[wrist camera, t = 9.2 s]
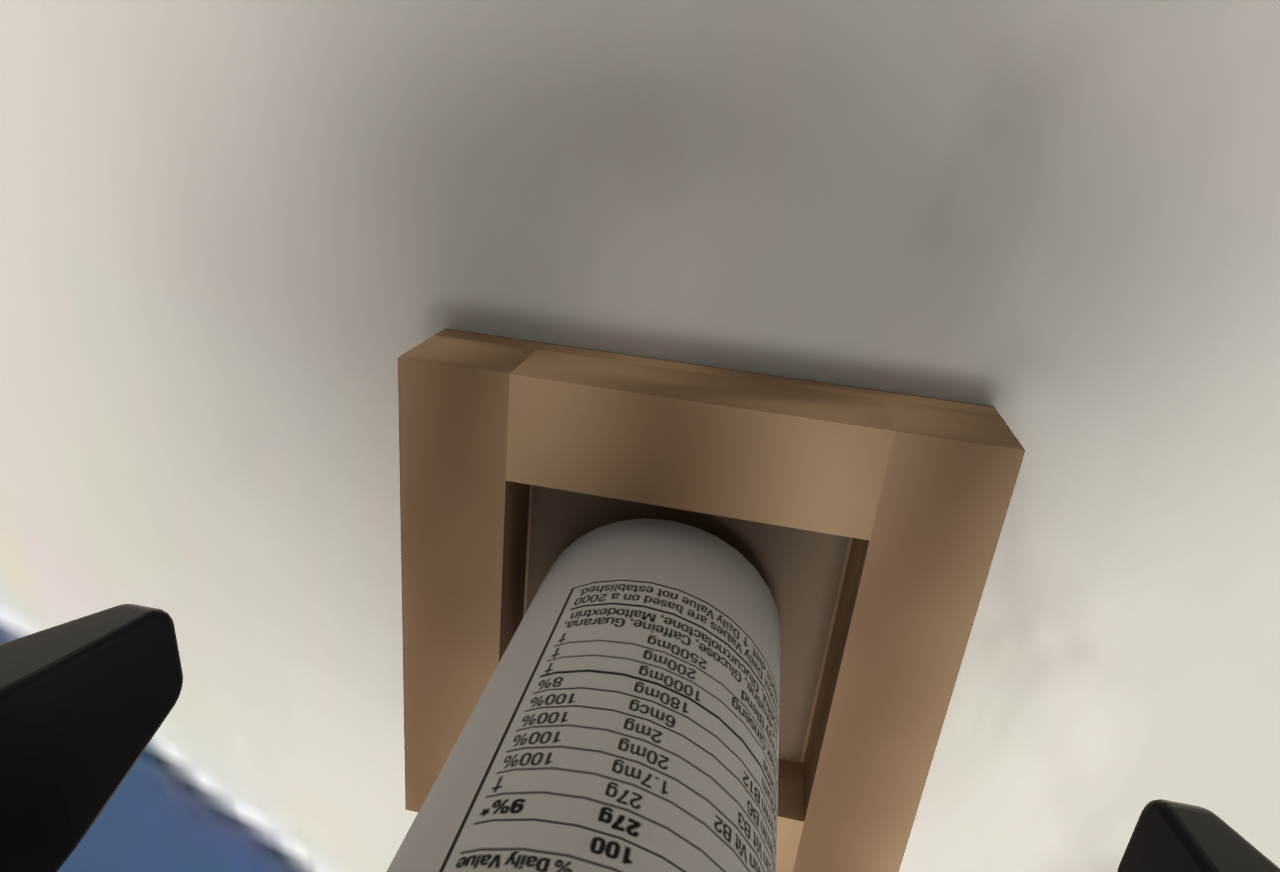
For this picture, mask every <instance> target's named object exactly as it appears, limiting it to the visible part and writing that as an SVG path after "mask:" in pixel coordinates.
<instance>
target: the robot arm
mask: <svg viewBox="0 0 1280 872" xmlns="http://www.w3.org/2000/svg"><path fill="white" fill-rule="evenodd" d="M182 683H183V674H182V668H181V662H180V657H179V651H178V645H177V639H176V634H175V628H174V623H173V620H172V619H171V617H170V616H169V614H168V613H167V612H165V611H163V610H160V609H156V608H150V607H145V606H140V605H135V604H123V605H119V606H116V607H113V608H110V609H107V610H104V611H100V612H97V613H94V614H91V615H88V616H85V617H82V618H79V619H76V620H73V621H70V622H67V623H64V624H61V625H58V626H55V627H52V628H49V629H46V630H43V631H40V632H37V633H34V634H31V635H28V636H25V637H22V638H18V639H15V640H12V641H9V642H6V643H3V644H0V872H57V871H58V870H59V868H60V867H61V866H62V865H63V863H64V862H65V861H66V860H67V858H68V857H69V856H70V854H71V853H72V852H73V851H74V849H75V848H76V847H77V845H78V844H79V843H80V841H81V840H82V838H83V837H84V836H85V834H86V833H87V831H88V830H89V829H90V827H91V826H92V825H93V823H94V822H95V820H96V819H97V817H98V816H99V815H100V813H101V812H102V810H103V809H104V807H105V806H106V804H107V803H108V801H109V800H110V799H111V797H112V796H113V794H114V793H115V791H116V790H117V788H118V787H119V785H120V784H121V782H122V781H123V780H124V778H125V777H126V775H127V774H128V772H129V771H130V769H131V768H132V766H133V765H134V763H135V762H136V761H137V759H138V758H139V756H140V755H141V753H142V752H143V750H144V749H145V747H146V746H147V745H148V743H149V742H150V740H151V739H152V737H153V736H154V734H155V733H156V731H157V730H158V728H159V727H160V726H161V724H162V723H163V721H164V720H165V718H166V717H167V715H168V714H169V712H170V711H171V709H172V708H173V707H174V705H175V703H176V701H177V699H178V697H179V695H180V692H181V688H182ZM1118 872H1280V868H1278V867H1277V866H1276V865H1275V864H1274V863H1272V862H1271V861H1270V860H1269V859H1268V858H1267V857H1265V856H1264V855H1263V854H1262V853H1261V852H1259V851H1258V850H1257V849H1256V848H1255V847H1253V846H1252V845H1251V844H1250V843H1249V842H1248V841H1246V840H1245V839H1244V838H1243V837H1242V836H1240V835H1239V834H1238V833H1237V832H1236V831H1234V830H1233V829H1232V828H1231V827H1230V826H1229V825H1227V824H1226V823H1225V822H1224V821H1223V820H1221V819H1220V818H1219V817H1218V816H1216V815H1215V814H1214V813H1212V812H1211V811H1209V810H1207V809H1205V808H1202V807H1199V806H1193V805H1188V804H1183V803H1178V802H1172V801H1167V800H1153V801H1151V802H1149V803H1148V804H1147V805H1146V806H1145V807H1144V809H1143V811H1142V813H1141V815H1140V817H1139V820H1138V822H1137V825H1136V827H1135V829H1134V832H1133V834H1132V836H1131V839H1130V841H1129V843H1128V846H1127V848H1126V850H1125V853H1124V855H1123V858H1122V860H1121V862H1120V865H1119V868H1118Z"/></svg>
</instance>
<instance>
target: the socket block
mask: <svg viewBox="0 0 1280 872" xmlns="http://www.w3.org/2000/svg"><path fill="white" fill-rule="evenodd" d="M398 388H399V446H400V505H401V563H402V622H403V680H404V739H405V797H406V810H411V811H415V812H419V811H420V809H421V807H422V805H423V803H424V801H425V800H426V798H427V796H428V794H429V792H430V790H431V788H432V786H433V785H434V783H435V781H436V779H437V777H438V775H439V773H440V772H441V770H442V768H443V766H444V764H445V762H446V760H447V759H448V757H449V755H450V753H451V751H452V749H453V747H454V746H455V744H456V742H457V740H458V738H459V736H460V734H461V733H462V731H463V729H464V727H465V725H466V723H467V721H468V720H469V718H470V716H471V714H472V712H473V710H474V708H475V707H476V705H477V703H478V701H479V699H480V697H481V695H482V693H483V692H484V690H485V688H486V686H487V684H488V682H489V680H490V679H491V677H492V675H493V673H494V671H495V669H496V667H497V666H498V664H499V662H500V660H501V658H502V656H503V654H504V653H505V651H506V649H507V647H508V645H509V643H510V641H511V640H512V638H513V636H514V634H515V632H516V630H517V628H518V627H519V625H520V623H521V621H522V619H523V617H524V615H525V614H526V612H527V610H528V608H529V606H530V604H531V602H532V600H533V599H534V597H535V595H536V593H537V591H538V589H539V587H540V586H541V584H542V582H543V580H544V578H545V576H546V574H547V573H548V571H549V569H550V568H551V566H552V565H553V563H554V562H555V561H556V559H557V558H558V557H559V555H560V554H561V553H562V552H563V551H564V550H565V549H566V548H567V547H569V546H570V545H571V544H572V543H573V542H574V541H576V540H577V539H578V538H580V537H582V536H583V535H585V534H587V533H589V532H591V531H593V530H594V529H596V528H598V527H602V526H605V525H608V524H612V523H615V522H618V521H625V520H634V519H644V518H646V519H659V520H670V521H674V522H678V523H682V524H686V525H690V526H694V527H696V528H699V529H701V530H703V531H705V532H707V533H710V534H712V535H714V536H716V537H718V538H720V539H721V540H723V541H724V542H726V543H727V544H728V545H730V546H731V547H733V548H734V549H736V550H737V551H739V552H740V553H741V554H742V555H743V556H744V557H745V558H746V559H747V560H748V561H749V562H750V563H751V564H752V565H753V566H754V567H755V568H756V570H757V571H758V573H759V574H760V576H761V577H762V579H763V580H764V581H765V583H766V584H767V586H768V587H769V589H770V592H771V594H772V597H773V599H774V602H775V604H776V607H777V610H778V616H779V622H780V628H781V652H780V706H779V760H778V813H777V867H776V872H899V869H900V865H901V862H902V859H903V855H904V852H905V849H906V845H907V842H908V839H909V835H910V832H911V829H912V825H913V822H914V819H915V815H916V812H917V809H918V805H919V802H920V799H921V795H922V792H923V789H924V785H925V782H926V779H927V775H928V772H929V769H930V765H931V762H932V759H933V755H934V752H935V749H936V745H937V742H938V739H939V735H940V732H941V729H942V725H943V722H944V719H945V715H946V712H947V709H948V705H949V702H950V699H951V696H952V692H953V689H954V686H955V682H956V679H957V676H958V672H959V669H960V666H961V662H962V659H963V656H964V652H965V649H966V646H967V642H968V639H969V636H970V632H971V629H972V626H973V622H974V619H975V616H976V612H977V609H978V606H979V602H980V599H981V596H982V592H983V589H984V586H985V582H986V579H987V576H988V572H989V569H990V566H991V562H992V559H993V556H994V552H995V549H996V546H997V542H998V539H999V536H1000V532H1001V529H1002V526H1003V522H1004V519H1005V516H1006V512H1007V509H1008V506H1009V502H1010V499H1011V496H1012V492H1013V489H1014V486H1015V482H1016V479H1017V476H1018V472H1019V469H1020V466H1021V462H1022V459H1023V456H1024V452H1025V450H1024V448H1023V447H1022V445H1021V444H1020V443H1019V441H1018V440H1017V438H1016V437H1015V436H1014V434H1013V433H1012V431H1011V430H1010V429H1009V427H1008V426H1007V425H1006V423H1005V422H1004V420H1003V419H1002V418H1001V416H1000V415H999V413H998V412H997V411H996V409H995V408H994V407H988V406H981V405H974V404H967V403H960V402H953V401H946V400H939V399H932V398H925V397H918V396H911V395H904V394H897V393H890V392H883V391H876V390H869V389H862V388H855V387H848V386H841V385H834V384H827V383H820V382H813V381H806V380H799V379H792V378H785V377H778V376H771V375H764V374H757V373H750V372H743V371H736V370H729V369H722V368H715V367H708V366H701V365H694V364H687V363H680V362H673V361H666V360H659V359H652V358H645V357H638V356H631V355H624V354H616V353H609V352H602V351H595V350H588V349H581V348H574V347H567V346H560V345H553V344H546V343H539V342H532V341H525V340H518V339H511V338H504V337H497V336H490V335H483V334H476V333H469V332H462V331H455V330H448V329H444V330H443V331H441V332H439V333H438V334H436V335H434V336H433V337H431V338H429V339H428V340H426V341H425V342H423V343H421V344H420V345H418V346H416V347H415V348H413V349H411V350H410V351H408V352H406V353H405V354H403V355H401V356H400V357H398Z"/></svg>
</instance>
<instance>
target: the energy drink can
mask: <svg viewBox="0 0 1280 872" xmlns="http://www.w3.org/2000/svg"><path fill="white" fill-rule="evenodd" d="M780 652H781V628H780V622H779V616H778V610H777V607H776V604H775V602H774V599H773V597H772V594H771V592H770V589H769V587H768V586H767V584H766V583H765V581H764V580H763V579H762V577H761V576H760V574H759V573H758V571H757V570H756V568H755V567H754V566H753V565H752V564H751V563H750V562H749V561H748V560H747V559H746V558H745V557H744V556H743V555H742V554H741V553H740V552H739V551H737V550H736V549H734V548H733V547H731V546H730V545H728V544H727V543H726V542H724V541H723V540H721V539H720V538H718V537H716V536H714V535H712V534H710V533H707V532H705V531H703V530H701V529H699V528H696V527H694V526H690V525H686V524H682V523H678V522H674V521H670V520H659V519H646V518H644V519H634V520H625V521H618V522H615V523H612V524H608V525H605V526H602V527H598V528H596V529H594V530H593V531H591V532H589V533H587V534H585V535H583V536H582V537H580V538H578V539H577V540H576V541H574V542H573V543H572V544H571V545H570V546H569V547H567V548H566V549H565V550H564V551H563V552H562V553H561V554H560V555H559V557H558V558H557V559H556V561H555V562H554V563H553V565H552V566H551V568H550V569H549V571H548V573H547V574H546V576H545V578H544V580H543V582H542V584H541V586H540V587H539V589H538V591H537V593H536V595H535V597H534V599H533V600H532V602H531V604H530V606H529V608H528V610H527V612H526V614H525V615H524V617H523V619H522V621H521V623H520V625H519V627H518V628H517V630H516V632H515V634H514V636H513V638H512V640H511V641H510V643H509V645H508V647H507V649H506V651H505V653H504V654H503V656H502V658H501V660H500V662H499V664H498V666H497V667H496V669H495V671H494V673H493V675H492V677H491V679H490V680H489V682H488V684H487V686H486V688H485V690H484V692H483V693H482V695H481V697H480V699H479V701H478V703H477V705H476V707H475V708H474V710H473V712H472V714H471V716H470V718H469V720H468V721H467V723H466V725H465V727H464V729H463V731H462V733H461V734H460V736H459V738H458V740H457V742H456V744H455V746H454V747H453V749H452V751H451V753H450V755H449V757H448V759H447V760H446V762H445V764H444V766H443V768H442V770H441V772H440V773H439V775H438V777H437V779H436V781H435V783H434V785H433V786H432V788H431V790H430V792H429V794H428V796H427V798H426V800H425V801H424V803H423V805H422V807H421V809H420V811H419V813H418V814H417V816H416V818H415V820H414V822H413V824H412V826H411V827H410V829H409V831H408V833H407V835H406V837H405V839H404V840H403V842H402V844H401V846H400V848H399V850H398V852H397V853H396V855H395V857H394V859H393V861H392V863H391V865H390V866H389V868H388V870H387V872H776V867H777V813H778V760H779V706H780Z"/></svg>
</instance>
